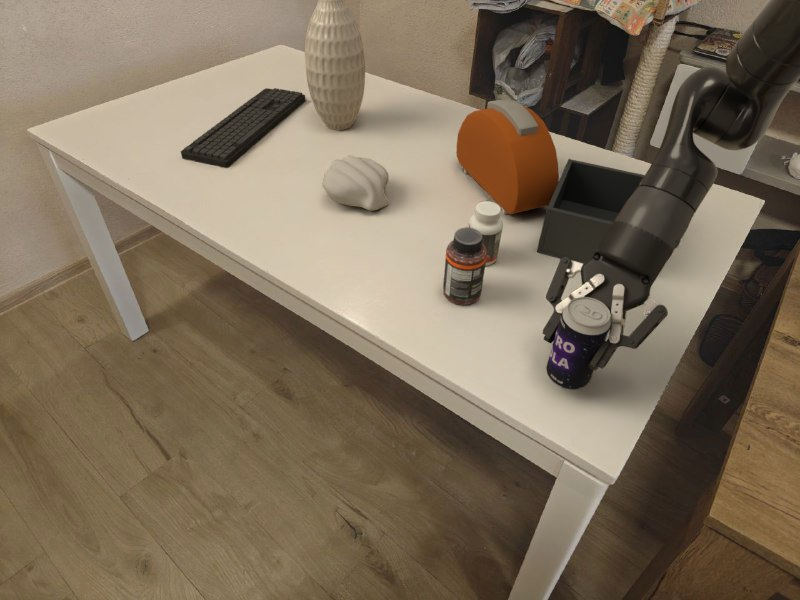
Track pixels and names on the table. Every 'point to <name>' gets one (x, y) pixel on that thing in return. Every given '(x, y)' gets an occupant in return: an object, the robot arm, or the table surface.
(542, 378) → the table surface
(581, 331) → the beverage can
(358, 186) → the shell shaped sculpture
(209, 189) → the table surface
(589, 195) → the open storage box
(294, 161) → the table surface
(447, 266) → the supplement bottle
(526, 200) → the alarm clock
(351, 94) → the vase
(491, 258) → the pill bottle
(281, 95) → the keyboard
